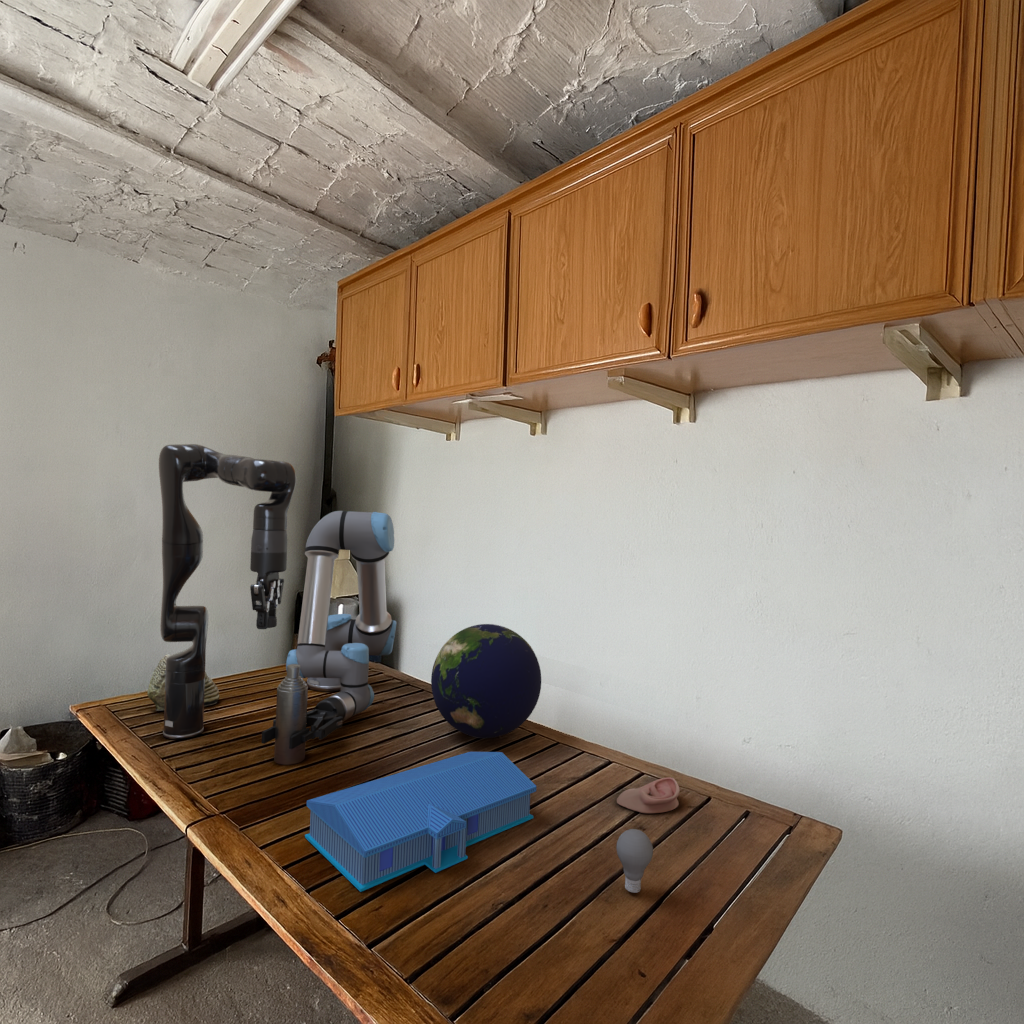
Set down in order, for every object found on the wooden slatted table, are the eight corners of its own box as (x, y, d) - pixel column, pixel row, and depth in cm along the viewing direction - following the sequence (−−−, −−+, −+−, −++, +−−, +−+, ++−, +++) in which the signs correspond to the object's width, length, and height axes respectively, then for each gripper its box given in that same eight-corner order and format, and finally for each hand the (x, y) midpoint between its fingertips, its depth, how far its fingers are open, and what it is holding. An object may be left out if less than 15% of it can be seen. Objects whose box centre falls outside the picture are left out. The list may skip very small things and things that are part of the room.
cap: (275, 624, 144) (275, 615, 144) (277, 627, 140) (277, 618, 140) (255, 625, 142) (255, 616, 142) (257, 628, 138) (257, 619, 138)
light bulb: (610, 879, 108) (613, 822, 108) (644, 879, 109) (647, 822, 109) (619, 902, 102) (622, 840, 102) (655, 901, 103) (658, 840, 103)
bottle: (288, 767, 147) (292, 671, 147) (267, 760, 151) (271, 666, 150) (311, 757, 153) (315, 665, 153) (290, 750, 157) (294, 660, 156)
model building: (370, 901, 100) (373, 839, 100) (303, 836, 118) (305, 782, 118) (545, 824, 126) (547, 774, 126) (468, 780, 144) (470, 736, 144)
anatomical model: (616, 790, 133) (618, 768, 145) (615, 809, 133) (618, 785, 145) (681, 799, 131) (678, 776, 142) (680, 818, 131) (677, 793, 142)
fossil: (144, 707, 182) (145, 655, 182) (212, 696, 194) (213, 647, 194) (151, 716, 175) (153, 662, 175) (221, 703, 188) (223, 653, 188)
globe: (407, 742, 164) (412, 628, 164) (459, 709, 192) (464, 611, 192) (514, 765, 153) (519, 642, 153) (553, 726, 181) (558, 622, 180)
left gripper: (274, 552, 134) (271, 634, 134) (296, 548, 148) (294, 621, 148) (238, 551, 134) (235, 632, 134) (264, 547, 148) (262, 620, 148)
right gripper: (366, 730, 166) (312, 763, 144) (301, 719, 172) (241, 749, 150) (367, 701, 166) (313, 731, 144) (302, 691, 172) (242, 718, 150)
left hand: (266, 626), depth 141 cm, fingers closed on cap, 4 cm apart
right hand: (276, 740), depth 147 cm, fingers closed on bottle, 7 cm apart
